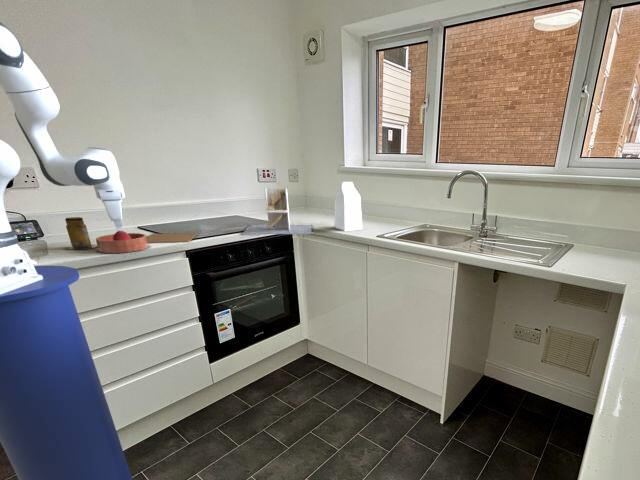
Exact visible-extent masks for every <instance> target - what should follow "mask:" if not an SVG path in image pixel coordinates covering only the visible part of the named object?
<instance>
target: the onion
mask: <svg viewBox="0 0 640 480" xmlns="http://www.w3.org/2000/svg"><path fill="white" fill-rule="evenodd" d="M127 233H128V232H126V231H124V230H122V231H116V232H115V233H113V234H114V236H113V241H119V240H130V239H131V237H130V236H129V235H128V234H127Z"/></svg>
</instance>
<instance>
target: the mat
mask: <svg viewBox="0 0 640 480" xmlns="http://www.w3.org/2000/svg"><path fill="white" fill-rule="evenodd" d="M198 235H199V232H178V233H177V232H176V233H175V232H173V233H172V232H170V233H151V234H150V235H147V236H146V238H147V243H148V244H158V243H159V244H162V243H163V244H165V243H189V242H190V241H191V240H193V239H194V238H195V237H196V236H198Z"/></svg>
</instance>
